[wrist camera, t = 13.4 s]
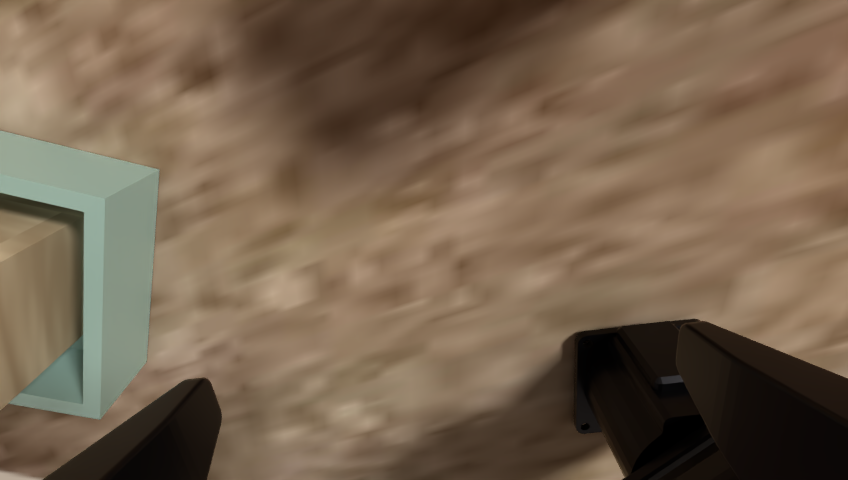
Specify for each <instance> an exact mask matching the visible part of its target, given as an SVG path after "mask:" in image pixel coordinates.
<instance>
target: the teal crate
mask: <svg viewBox="0 0 848 480" xmlns="http://www.w3.org/2000/svg"><path fill="white" fill-rule="evenodd" d="M158 183H159V169H155V168H151V167H147V166H143V165H139V164H135V163H131V162H126V161H122V160H118V159H114V158H110V157H106V156H102V155H98V154H94V153H90V152H86V151H82V150H78V149H74V148H70V147H66V146H61V145H57V144H53V143H49V142H45V141H41V140H37V139H33V138H29V137H25V136H21V135H17V134H13V133H9V132H5V131H0V193H4V194H8V195H13V196H17V197H21V198H26V199H30V200H34V201H39V202H43V203H47V204H52V205H56V206H60V207H65V208H69V209H73V210H78V211H82V212H84V303H83V335H82V336H81V337H80V338H79V339H78V340H77V341H76V342H75V343H74V344H73V345H71V346H70V347H69V348H68V349H67V350H66V351H65V352H64V353H63V354H62V355H61V356H59V357H58V358H57V359H56V360H55V361H54V362H53V363H52V364H51V365H50V366H49V367H47V368H46V369H45V370H44V371H43V372H42V373H41V374H40V375H39V376H38V377H37V378H35V379H34V380H33V381H32V382H31V383H30V384H29V385H28V386H27V387H26V388H25V389H23V390H22V391H21V392H20V393H19V394H18V395H17V396H16V397H15V398H14V399H13V400H11V401H10V402H9V403H8V404H13V405H19V406H25V407H30V408H36V409H42V410H48V411H53V412H59V413H65V414H70V415H76V416H82V417H87V418H93V419H99V420H100V419H101V418H102V417H103V415H104V414H105V413H106V412H107V410H108V409H109V408H110V407H111V406H112V404H113V403H114V402H115V401H116V399H117V398H118V397H119V396H120V394H121V393H122V392H123V391H124V389H125V388H126V387H127V386H128V384H129V383H130V382H131V381H132V379H133V378H134V377H135V376H136V374H137V373H138V372H139V371H140V369H141V368H142V367H143V366H144V364H145V363H146V362H147V348H148V333H149V318H150V303H151V288H152V273H153V258H154V243H155V228H156V213H157V198H158Z"/></svg>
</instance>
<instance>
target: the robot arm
mask: <svg viewBox="0 0 848 480" xmlns="http://www.w3.org/2000/svg"><path fill="white" fill-rule="evenodd" d="M585 340H589V342H587V343H583V342H584V341H585ZM221 420H222V414H221V409H220V406H219V404H218V401H217V398H216V395H215V393H214V390H213V387H212V384H211V382H210V381H209V380H208V379H207V378H195V379H187V380H184V381H182V382H181V383H179V384H178V385H177V386H175V387H174V388H172V389H171V390H169V391H168V392H167V393H165V394H164V395H162V396H161V397H159V398H158V399H157V400H155V401H154V402H152V403H151V404H150V405H148V406H147V407H145V408H144V409H142V410H141V411H140V412H138V413H137V414H135V415H134V416H132V417H131V418H130V419H128V420H127V421H125V422H124V423H122V424H121V425H120V426H118V427H117V428H115V429H114V430H113V431H111V432H110V433H108V434H107V435H105V436H104V437H103V438H101V439H100V440H98V441H97V442H95V443H94V444H93V445H91V446H90V447H88V448H87V449H85V450H84V451H83V452H81V453H80V454H78V455H77V456H76V457H74V458H73V459H71V460H70V461H68V462H67V463H66V464H64V465H63V466H61V467H60V468H58V469H57V470H56V471H54V472H53V473H51V474H50V475H48V476H47V477H46V478H44V479H43V480H207V477H208V473H209V469H210V465H211V461H212V457H213V453H214V449H215V446H216V442H217V438H218V434H219V430H220V426H221ZM584 423H586V424H584ZM582 424H584V425H582ZM574 425H575V427H576V430H577V431H578V432H579V433H583V434H586V433H595V432H603V434H604V436H605V438H606V440H607V442H608V445H609V447H610V449H611V451H612V453H613V455H614V457H615V459H616V461H617V463H618V465H619V467H620V469H621V471H622V473H623V475H624V477H625V478H624V479H622V480H848V378H845V377H843V376H840V375H838V374H835V373H833V372H830V371H828V370H825V369H823V368H820V367H818V366H815V365H813V364H810V363H808V362H805V361H803V360H800V359H798V358H795V357H793V356H790V355H788V354H785V353H783V352H780V351H778V350H776V349H773V348H771V347H768V346H766V345H763V344H761V343H758V342H756V341H753V340H751V339H748V338H746V337H743V336H741V335H738V334H736V333H733V332H731V331H728V330H726V329H723V328H721V327H718V326H716V325H713V324H711V323H709V322H705V321H700V320H698V319H689V320H680V321H671V322H670V321H665V322H656V323H648V324H639V325H630V326H622V327H617V328H608V329H600V330H591V331H584V332H581V333H579V334H578V335H577V336H576V339H575V379H574Z"/></svg>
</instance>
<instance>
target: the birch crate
mask: <svg viewBox="0 0 848 480" xmlns="http://www.w3.org/2000/svg"><path fill="white" fill-rule="evenodd" d="M83 303H84V212H82V211H78V210H73V209H69V208H65V207H60V206H56V205H52V204H47V203H43V202H39V201H34V200H30V199H26V198H21V197H17V196H13V195H8V194H4V193H0V411H1V410H2V409H3V408H4V407H5V406H6V405H7V404H8V403H9V402H10V401H11V400H13V399H14V398H15V397H16V396H17V395H18V394H19V393H20V392H21V391H22V390H23V389H25V388H26V387H27V386H28V385H29V384H30V383H31V382H32V381H33V380H34V379H35V378H37V377H38V376H39V375H40V374H41V373H42V372H43V371H44V370H45V369H46V368H47V367H49V366H50V365H51V364H52V363H53V362H54V361H55V360H56V359H57V358H58V357H59V356H61V355H62V354H63V353H64V352H65V351H66V350H67V349H68V348H69V347H70V346H71V345H73V344H74V343H75V342H76V341H77V340H78V339H79V338H80V337H81V336H82V335H83Z"/></svg>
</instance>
